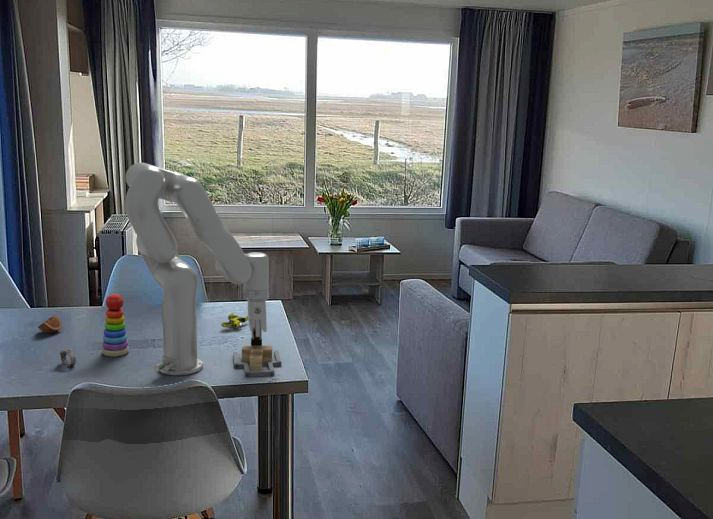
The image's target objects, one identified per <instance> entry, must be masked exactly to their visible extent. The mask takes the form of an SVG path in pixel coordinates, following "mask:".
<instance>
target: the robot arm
mask: <svg viewBox="0 0 713 519" xmlns="http://www.w3.org/2000/svg"><path fill="white" fill-rule="evenodd" d="M125 181H126V184H127V186H128V187H129V188H128V190H127V193H126V196H125V205H124V206H125V207H124V208H125V212H126V213H125V214H126V217H127V218H128V222H129V224H130V225H131V227H132V229H133V230H134V233H135V235H136V237H135V238H136V239H135V243H136V247H137V250H138V252H139V254H140V256H141V257H142V260H143V261H144V263H145V265H146V266H147V268H148V270H149V272H150V273H151V275H152V276H153V278H154V280H155V281H156V283H157V284H158V285H159V286H160V287H162V292H163V293H162V303H161V312H162V313H161V316H162V317H161V318H162V346H163V356H161V360H160V361H159V363H157V364H155V365H154V366H153V369H154V371H155V372H160V373H162V374H164V375H169V376H186V375H191V374H194V373H197V372H199V371H201V370H202V369H203V366H204V363H203V361H202V360H201V359H200V358H198V331H197V330H198V328H197V324H198V323H197V320H198V319H197V296H198V289H199V280H198V276H197V275H198V274H197V273H196V271H195V270H194V268H193V267H192V266H191V265H190V264H188V263H186V262H185V261H184V260H182V258H181V256H180V255H179V253H178V249H179V248H178V247H179V246H178V242H177V240H176V237H175V236H174V234H173V233H172V231H171V229H170V227H169V226H168V224H167V221H166V220H165V219H164V216H163V213H162V212H161V210H160V205H159V201H160V200H159V199H161V200H163V201H168V202H172V203H175V204H176V205H177V206H178V208H179V209H180V212H181V213H182V214H183V216H184V217H185V219H186V221H187V223H188V224H189V226H190V228H191V229H192V232H193V233H194V234H195V236H196V237H197V238H198V240H199V241H200V242H201V243H202V244H203V245H204V246H205V247H206V248H208V250H210V252H211V253H212V254H213V255H214V256H215V258H216V261H215V263H214V264H215V266H214V267H215V270H216V272H217V274H219V275H220V276H221V277H222V278H223V279H225V280H227V281H229V282H230V283H231V284H234V285H239V286H240V285H243V300H245V301H247V316H248V320H247V321H248V325H249V326H248V327H249V330H250V332H251V337H250V346H263V338H262V333H267V330H268V328H267V327H268V326H267V304H266V303H267V302H266V301H267V300H269V299H270V298H269V297H270V296H269V295H270V291H269V290H270V287H269V286H270V285H269V283H270V282H269V281H270V280H269V279H270V278H269V277H270V276H269V275H270V274H269V273H270V272H269V271H270V269H269V268H270V267H269V265H270V264H269V261H270V260H269V258H270V257H269V255H267V253H264V252H259V251H257V252H253V251H252V252H248V253H244V250H243V248H242V247H241V246H240V243H238V241H237V240H236V238H235V237H234V235H232V233H231V232H230V229H229V228H228V226H227V225H226V224H225V223H224V221H223V220H222V218H221V216H220V215H219V213H218V212H217V209H216V208H215V206H214V204H213V203H212V201H211V199H210V196H209V195H208V193H207V192H206V191H205V189H204V187H203V185H202V184H201V182H200V181H199V180H198V179H196V178H194V177H192V176H188V175H185V174H182V173H179V172H175V171H174V172H173V171H171V170H168V169H164V168H161V167H158V166H155V165H152V164H149V163H146V162H136V163H133V164H132V165H131V166H129V168H128V169H127V170H126V174H125Z"/></svg>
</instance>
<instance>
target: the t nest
mask: <svg viewBox="0 0 713 519" xmlns="http://www.w3.org/2000/svg"><path fill="white" fill-rule="evenodd" d="M273 355H274V359H275V360H272V361H268V362H267V368H268V369H264V370H263V369H262V371H250V365H249V362H239V356H238V352H237V351H235V352H232V357H233V358H232V359H233V365H234V366H233V367H234V369H243V370H244V377H245V378H248V377H251V378H252V377H270V376H275V368H274V367H282V359H281V356H280V352H279V349H278V350H277V349H275V350H273Z"/></svg>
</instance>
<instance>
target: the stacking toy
mask: <svg viewBox="0 0 713 519" xmlns="http://www.w3.org/2000/svg"><path fill="white" fill-rule="evenodd" d="M105 306H106V307H107V310H106V311H105V315H106V316H105V322H106V323H105V324H104V330H103V337H102V340H103V342H102V348H101V353H102V355H104V356H106V357H115V358H116V357H120V356H124V355H126V354H127V353H129V351H130V347H129V341H128V335H127V334H126V333H127V329H126V322H125V316H124V313H125V312H124V309H122V307H123V306H124V299H123V297H122V296H121V295H120V294H118V293H111V294H109V295H107V297H106V299H105Z"/></svg>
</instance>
